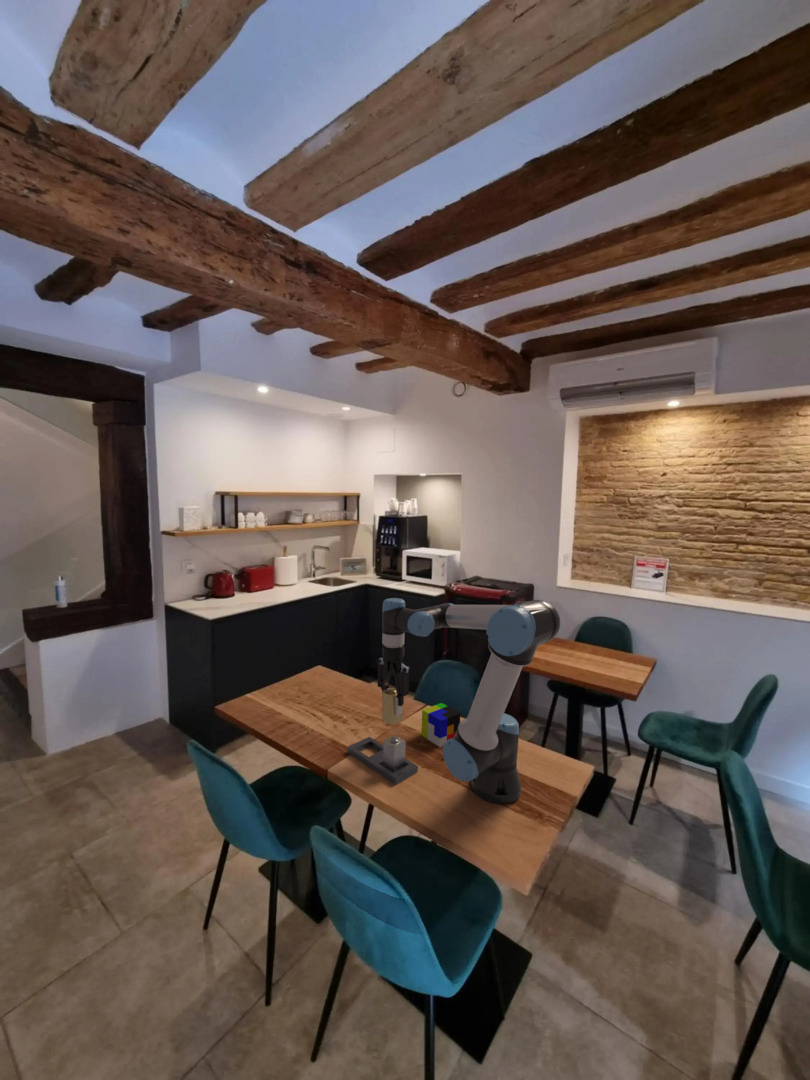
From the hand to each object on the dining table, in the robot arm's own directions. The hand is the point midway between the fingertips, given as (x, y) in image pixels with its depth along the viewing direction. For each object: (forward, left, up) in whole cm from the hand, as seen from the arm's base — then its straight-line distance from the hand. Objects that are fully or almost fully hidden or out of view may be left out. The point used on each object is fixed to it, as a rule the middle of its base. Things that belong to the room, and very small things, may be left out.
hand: (392, 711), depth 154 cm
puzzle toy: (-3, -22, -16) cm, 28 cm away
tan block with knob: (0, 0, -3) cm, 3 cm away
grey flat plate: (0, +5, -16) cm, 17 cm away
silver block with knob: (-6, +5, -16) cm, 18 cm away
